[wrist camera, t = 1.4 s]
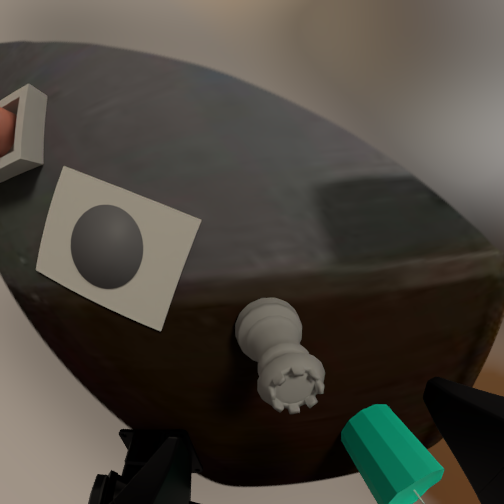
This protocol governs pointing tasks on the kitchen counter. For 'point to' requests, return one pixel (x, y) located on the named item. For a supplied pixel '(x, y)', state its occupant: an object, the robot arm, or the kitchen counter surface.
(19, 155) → the button housing
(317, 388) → the rook chess piece
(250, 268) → the kitchen counter surface
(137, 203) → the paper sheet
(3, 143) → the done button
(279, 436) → the kitchen counter surface
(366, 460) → the candle
